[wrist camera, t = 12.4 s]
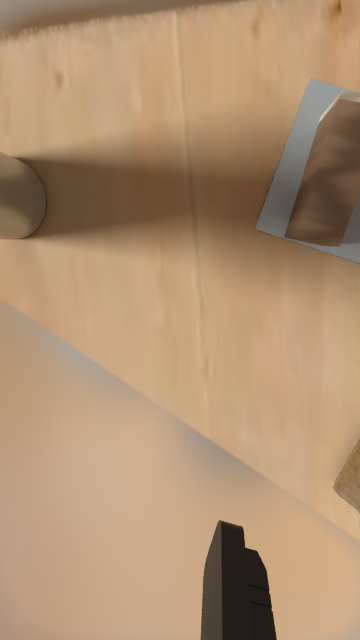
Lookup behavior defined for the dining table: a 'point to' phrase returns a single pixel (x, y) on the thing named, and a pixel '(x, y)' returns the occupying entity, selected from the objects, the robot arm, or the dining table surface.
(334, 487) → the stone cup
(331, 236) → the brown rectangular block
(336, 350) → the dining table surface
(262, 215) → the felt mat
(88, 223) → the dining table surface
